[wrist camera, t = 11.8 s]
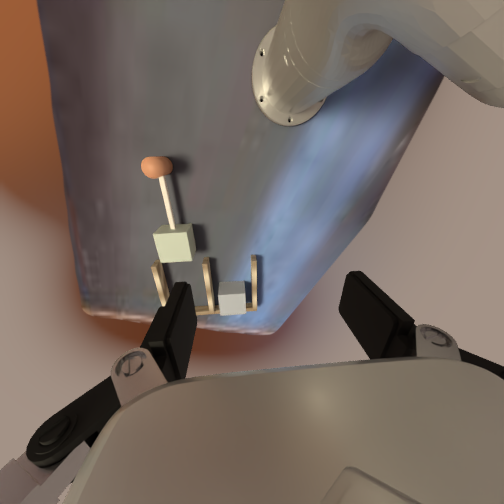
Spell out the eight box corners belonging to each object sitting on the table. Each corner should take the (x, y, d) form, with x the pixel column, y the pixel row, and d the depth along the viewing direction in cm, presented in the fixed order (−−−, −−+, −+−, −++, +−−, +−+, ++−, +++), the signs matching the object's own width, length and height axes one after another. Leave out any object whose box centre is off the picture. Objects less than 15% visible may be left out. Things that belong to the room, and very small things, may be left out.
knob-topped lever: (144, 157, 34) (128, 157, 29) (179, 155, 35) (169, 156, 29) (168, 251, 43) (159, 265, 37) (196, 249, 43) (191, 263, 38)
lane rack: (156, 259, 43) (150, 267, 41) (255, 254, 45) (256, 261, 42) (170, 311, 50) (166, 320, 47) (255, 305, 51) (257, 313, 49)
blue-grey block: (219, 281, 47) (217, 295, 43) (244, 280, 48) (245, 293, 43) (221, 301, 50) (220, 315, 46) (245, 299, 51) (246, 313, 46)
